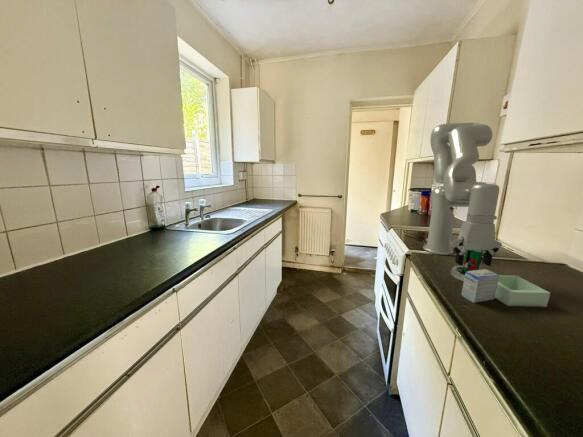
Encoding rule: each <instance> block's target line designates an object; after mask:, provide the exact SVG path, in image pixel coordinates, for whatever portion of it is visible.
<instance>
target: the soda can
mask: <svg viewBox="0 0 583 437" xmlns="http://www.w3.org/2000/svg"><path fill="white" fill-rule="evenodd" d="M483 254H484V251H481V250H475V251H474V250H467V251H466V252H465V253H464V254H463V255H464V261H463V265H462V272H460V273H461V274H463V275H465V272H467V271H474V270H481V264H482V259H483Z"/></svg>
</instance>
